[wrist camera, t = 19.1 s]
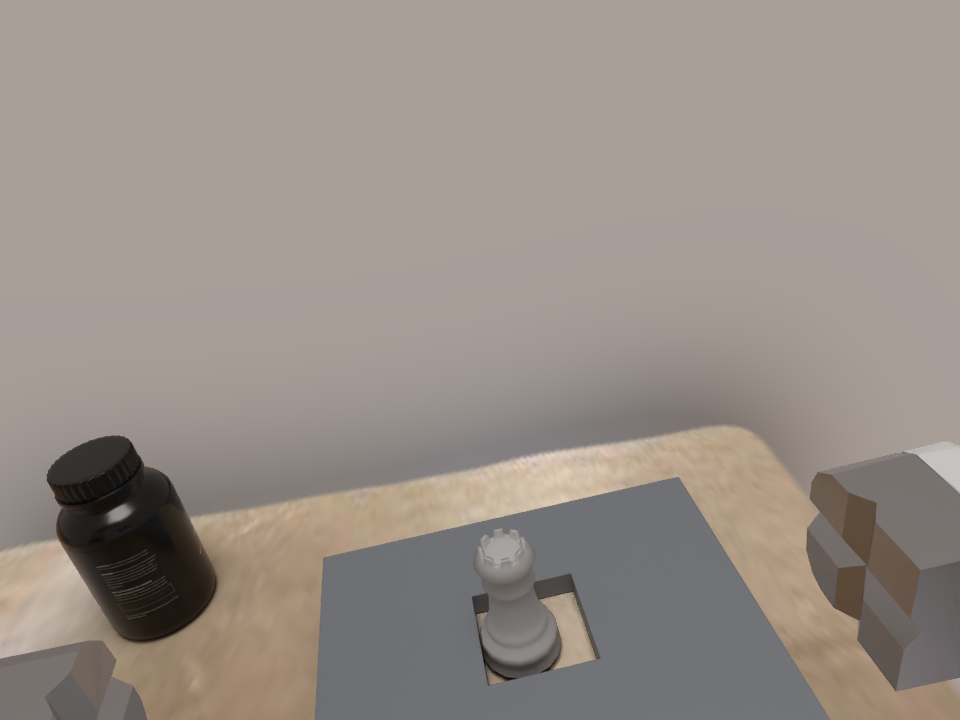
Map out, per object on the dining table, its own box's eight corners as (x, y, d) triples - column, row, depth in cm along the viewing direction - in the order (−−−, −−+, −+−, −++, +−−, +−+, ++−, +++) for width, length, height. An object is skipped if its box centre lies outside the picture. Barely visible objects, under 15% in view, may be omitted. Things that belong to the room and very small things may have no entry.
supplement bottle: (236, 563, 50) (172, 423, 44) (183, 648, 44) (101, 500, 38) (152, 559, 52) (79, 424, 46) (90, 640, 46) (-2, 498, 40)
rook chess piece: (522, 603, 43) (503, 502, 39) (579, 645, 40) (564, 539, 36) (467, 652, 41) (440, 550, 37) (522, 700, 38) (499, 594, 34)
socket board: (317, 871, 32) (307, 854, 31) (329, 574, 48) (323, 557, 47) (829, 742, 33) (832, 723, 33) (679, 493, 49) (678, 476, 48)
